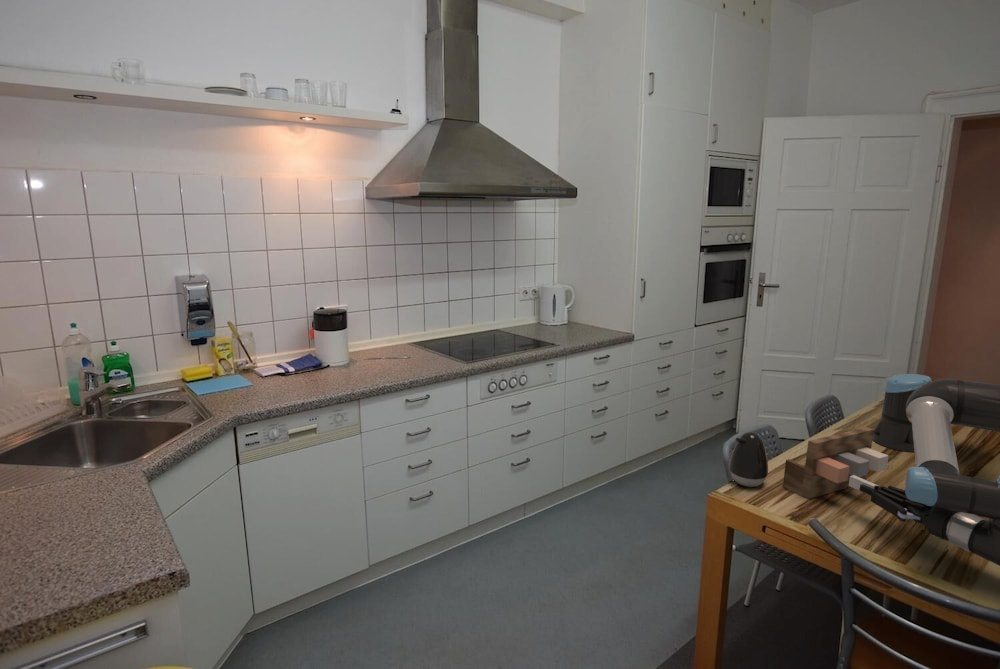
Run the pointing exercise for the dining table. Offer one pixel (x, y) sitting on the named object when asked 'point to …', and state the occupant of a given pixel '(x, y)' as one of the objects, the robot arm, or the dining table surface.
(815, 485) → the key board
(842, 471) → the key terracotta
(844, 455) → the key slate
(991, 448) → the dining table surface
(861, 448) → the key ivory
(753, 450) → the black penguin figurine
